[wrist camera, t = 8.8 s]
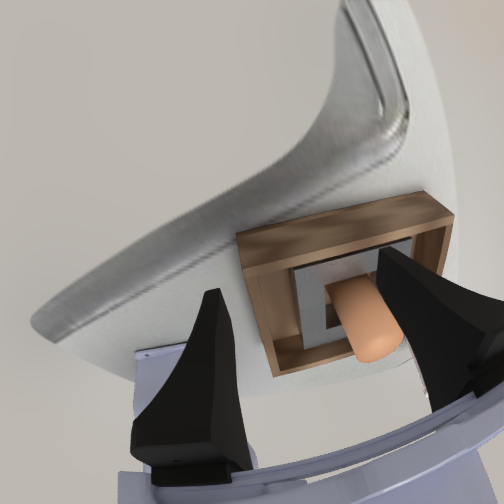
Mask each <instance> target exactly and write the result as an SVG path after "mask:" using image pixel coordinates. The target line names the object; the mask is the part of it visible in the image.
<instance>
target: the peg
mask: <svg viewBox="0 0 504 504" xmlns="http://www.w3.org/2000/svg"><path fill="white" fill-rule="evenodd" d="M325 289H326V291H327V293H328V295H329V297H330V299H331V301H332V304H333V306H334V308H335V310H336V312H337V315H338V317H339V319H340V321H341V323H342V326H343V328H344V330H345V332H346V335H347V337H348V339H349V342H350V344H351V346H352V348H353V351H354V353H355V355H356V358H357V360H358V361H360V362H363V363H369V362H374V361H377V360H379V359H382V358H384V357H386V356H387V355H389V354H390V353H392V352H393V351H394V350H395V349H396V348H397V347H398V346H399V345H400V344H401V342H402V340H403V337H404V334H403V332H402V330H401V328H400V327H399V325H398V323H397V321H396V320H395V318H394V316H393V315H392V313H391V312H390V310H389V308H388V307H387V305H386V303H385V302H384V300H383V298H382V296H381V295H380V293H379V291H378V290H377V288H376V287H375V285H374V283H373V282H372V280H371V279H370V277H369V275H368V274H367V273H366V274H362V275H359V276H355V277H352V278H348V279H344V280H341V281H337V282H334V283H330V284H326V285H325Z"/></svg>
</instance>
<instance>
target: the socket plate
mask: <svg viewBox="0 0 504 504" xmlns="http://www.w3.org/2000/svg"><path fill="white" fill-rule="evenodd" d="M412 240H413V239H412V238H411V237H410V236H408V237H404V238H400V239H397V240H393V241H389V242H386V243H382V244H378V245H375V246H371V247H367V248H364V249H360V250H356V251H352V252H348V253H345V254H341V255H337V256H333V257H329V258H325V259H322V260H318V261H314V262H310V263H306V264H302V265H298V266H294V267H290V268H288V269H289V276H290V282H291V289H292V296H293V303H294V309H295V317H296V324H297V329H298V332H299V335H300V338H301V341H302V344H303V348H304V350H305V349H309V348H312V347H316V346H320V345H323V344H327V343H330V342H333V341H337V340H340V339H343V338H347V335H346V332H345V330H344V328H343V326H342V323H341V321H340V319H339V317H338V315H337V312H336V310H335V308H334V306H333V304H332V303H331V304H328V305H325V285H326V284H330V283H334V282H337V281H341V280H344V279H348V278H352V277H355V276H359V275H362V274H366V273H369V272H371V280H372V282H373V283H374V285H375V287H376V288H377V290H378V291H379V289H378V287H377V285H376V283H375V282H376V273H377V263H378V252H379V249H380V248H384V247H388V246H391V247H393V248H395V249H397V250H398V251H400V252H402V253H403V254H405V255H406V256H408V257H410V254H411V247H412ZM379 293H380V292H379ZM380 295H381V294H380Z"/></svg>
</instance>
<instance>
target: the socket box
mask: <svg viewBox="0 0 504 504" xmlns="http://www.w3.org/2000/svg"><path fill="white" fill-rule="evenodd" d="M454 216H455V215H454V214H453V213H452V212H451V211H449V210H448V209H447V208H446V207H444V206H443V205H442V204H441V203H439V202H438V201H437V200H436V199H434V198H433V197H432V196H430V195H429V194H428V193H426V192H425V191H420V192H416V193H411V194H406V195H401V196H397V197H392V198H387V199H383V200H378V201H373V202H369V203H364V204H360V205H355V206H351V207H346V208H342V209H337V210H333V211H328V212H324V213H320V214H315V215H311V216H307V217H302V218H298V219H294V220H289V221H285V222H281V223H277V224H273V225H268V226H264V227H260V228H256V229H252V230H248V231H244V232H239V233H236V239H237V244H238V250H239V256H240V261H241V266H242V271H243V275H244V278H245V282H246V285H247V289H248V292H249V296H250V299H251V303H252V306H253V310H254V313H255V317H256V320H257V324H258V327H259V331H260V334H261V338H262V341H263V345H264V348H265V352H266V355H267V358H268V362H269V365H270V369H271V372H272V375H273V377H277V376H281V375H285V374H289V373H293V372H297V371H301V370H305V369H308V368H312V367H316V366H319V365H323V364H326V363H329V362H333V361H336V360H339V359H343V358H346V357H349V356H352V355H355V353H354V351H353V348H352V346H351V344H350V342H349V339H348V337H347V338H343V339H340V340H337V341H333V342H330V343H327V344H323V345H320V346H316V347H312V348H309V349H305V350H304V348H303V344H302V341H301V338H300V335H299V332H298V329H297V324H296V317H295V309H294V303H293V296H292V289H291V282H290V276H289V269H288V268H290V267H294V266H298V265H302V264H306V263H310V262H314V261H318V260H322V259H325V258H329V257H333V256H337V255H341V254H345V253H348V252H352V251H356V250H360V249H364V248H367V247H371V246H375V245H378V244H382V243H386V242H389V241H393V240H397V239H400V238H404V237H408V236H410V237H411V238H412V239H413V240H412V247H411V254H410V258H411V259H413V260H414V261H416V262H418V263H419V264H421V265H422V266H424V267H426V268H427V269H429V270H431V271H432V272H434V273H436V274H438V275H439V276H442V272H443V268H444V264H445V260H446V256H447V252H448V247H449V242H450V238H451V233H452V227H453V222H454ZM367 274H368V275H369V277H370V279H371V272H369V273H367ZM331 303H332V301H331V299H330V297H329V295H328V293H327V291H326V289H325V305H328V304H331ZM399 327H400V326H399ZM402 332H403V331H402ZM403 334H404V333H403ZM404 337H405V335H404Z"/></svg>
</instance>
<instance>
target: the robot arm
mask: <svg viewBox="0 0 504 504" xmlns="http://www.w3.org/2000/svg"><path fill="white" fill-rule="evenodd" d="M375 283H376V285H377V287H378V289H379V292H380V294H381V296H382V298H383V300H384V302H385V303H386V305H387V307H388V308H389V310H390V312H391V313H392V315H393V316H394V318H395V320H396V321H397V323H398V325H399V326H400V328H401V330H402V331H403V333H404V335H405V336H406V338H407V340H408V342H409V344H410V346H411V349H412V351H413V353H414V356H415V358H416V360H417V363H418V366H419V368H420V371H421V374H422V377H423V380H424V383H425V386H426V390H427V393H428V397H429V400H430V405H431V409H432V414H430V415H428V416H426V417H424V418H421V419H419V420H417V421H415V422H413V423H411V424H408V425H406V426H404V427H401V428H399V429H397V430H394V431H392V432H390V433H387V434H385V435H382V436H379V437H376V438H374V439H371V440H368V441H365V442H363V443H360V444H357V445H354V446H351V447H348V448H344V449H341V450H338V451H335V452H331V453H328V454H324V455H321V456H317V457H313V458H309V459H305V460H301V461H297V462H292V463H288V464H283V465H278V466H273V467H268V468H262V469H258V462H257V457H256V454H255V452H254V450H253V448H252V447H251V446H250V444H249V443H248V442H247V438H246V433H245V429H244V424H243V418H242V413H241V408H240V402H239V396H238V389H237V377H236V359H235V342H234V335H233V329H232V323H231V318H230V315H229V313H228V310H227V307H226V304H225V301H224V299H223V296H222V293H221V290H220V288H216V289H212V290H207V291H205V293H204V296H203V300H202V303H201V307H200V310H199V313H198V316H197V319H196V321H195V324H194V327H193V330H192V332H191V335H190V337H189V339H188V341H187V343H184V344H179V345H173V346H168V347H162V348H156V349H150V350H144V351H138V352H136V353H135V357H136V359H137V360H138V362H137V371H136V379H135V389H134V400H133V410H134V416H135V420H134V421H133V426H132V431H131V444H130V445H131V446H130V453H131V455H132V456H133V457H135V458H136V459H137V460H139V461H141V462H143V472H125V471H120V472H118V504H498V503H497V500H496V497H495V494H494V491H493V488H492V486H491V483H490V480H489V478H488V475H487V473H486V470H485V468H484V466H483V463H482V461H481V458H480V456H479V453H478V451H477V449H478V448H479V447H481V446H482V445H484V444H485V443H486V442H488V441H489V440H491V439H492V438H494V437H495V436H496V435H498V434H499V433H500V432H502V431H503V430H504V301H501V300H497V299H494V298H490V297H487V296H484V295H481V294H478V293H476V292H473V291H471V290H468V289H466V288H463V287H461V286H459V285H457V284H455V283H453V282H451V281H449V280H447V279H445V278H443V277H441V276H439V275H438V274H436V273H434V272H432V271H431V270H429V269H427V268H426V267H424V266H422V265H421V264H419V263H418V262H416V261H414V260H413V259H411V258H410V257H408V256H406V255H405V254H403V253H402V252H400V251H398V250H397V249H395V248H393V247H391V246H388V247H384V248H380V249H379V252H378V263H377V273H376V282H375ZM437 429H438V430H437ZM435 430H436V432H435V433H433V434H431V435H429V436H428V437H425V438H423V439H421V440H419V441H417V442H415V443H413V444H410V445H408V446H406V447H404V448H401V449H399V450H397V451H394V452H392V453H389V454H387V455H385V456H382V457H380V458H378V459H375V460H373V461H371V462H369V463H367V464H365V465H362V466H359V467H357V468H354V469H351V470H349V471H346V472H343V473H340V474H338V475H335V476H331V477H328V478H325V479H322V480H319V481H316V482H312V483H309V484H307V481H306V480H300V479H305V478H308V477H312V476H317V475H320V474H324V473H328V472H331V471H335V470H338V469H342V468H345V467H348V466H351V465H354V464H357V463H360V462H363V461H366V460H369V459H371V458H374V457H376V456H379V455H382V454H384V453H387V452H389V451H392V450H394V449H397V448H399V447H401V446H404V445H406V444H408V443H410V442H412V441H415V440H417V439H419V438H421V437H423V436H425V435H427V434H429V433H431V432H433V431H435ZM296 480H297V481H296Z"/></svg>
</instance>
